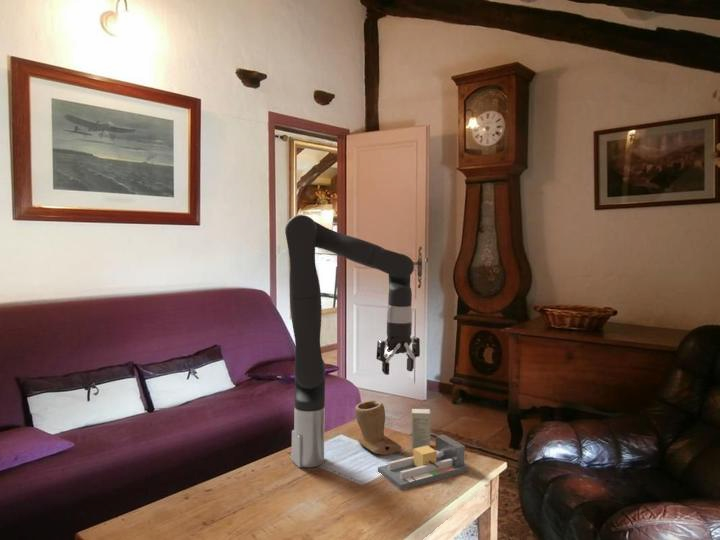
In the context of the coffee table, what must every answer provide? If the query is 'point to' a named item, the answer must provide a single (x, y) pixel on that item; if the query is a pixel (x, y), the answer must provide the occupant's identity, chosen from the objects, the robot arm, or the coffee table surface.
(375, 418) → the brown clay boot
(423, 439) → the skincare box
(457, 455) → the grey end plate
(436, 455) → the gauge carriage
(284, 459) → the coffee table surface
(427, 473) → the base
